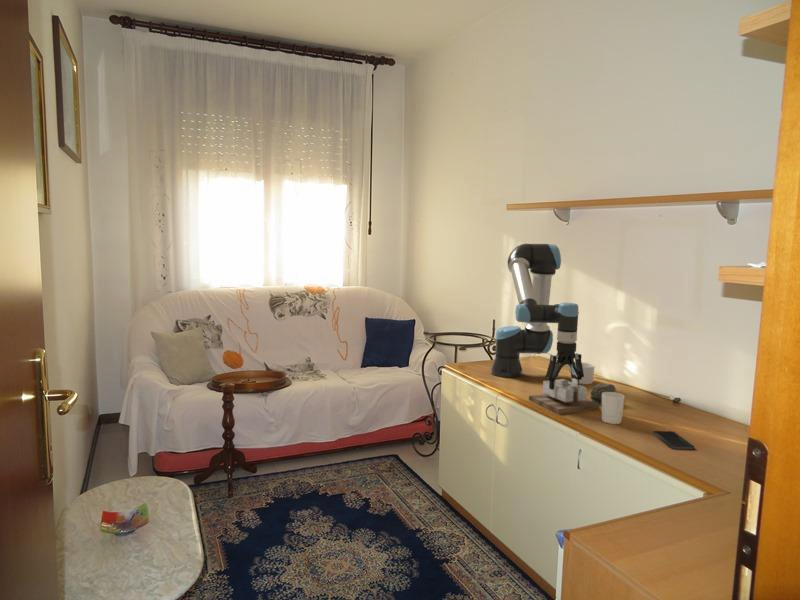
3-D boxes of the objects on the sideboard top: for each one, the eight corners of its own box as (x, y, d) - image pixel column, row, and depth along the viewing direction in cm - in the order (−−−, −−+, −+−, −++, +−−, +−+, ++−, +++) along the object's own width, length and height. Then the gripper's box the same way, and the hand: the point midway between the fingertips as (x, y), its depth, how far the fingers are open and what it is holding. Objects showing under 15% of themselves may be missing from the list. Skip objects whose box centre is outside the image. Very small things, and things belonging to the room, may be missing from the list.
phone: (671, 447, 179) (651, 430, 194) (671, 450, 179) (651, 433, 194) (696, 447, 179) (674, 431, 194) (696, 451, 179) (674, 434, 194)
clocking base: (528, 400, 230) (529, 376, 228) (567, 395, 237) (569, 373, 236) (558, 414, 212) (559, 388, 211) (599, 409, 220) (600, 384, 219)
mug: (597, 382, 261) (599, 365, 260) (585, 385, 254) (586, 368, 253) (573, 376, 271) (574, 360, 270) (560, 379, 265) (561, 362, 264)
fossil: (587, 402, 226) (590, 379, 229) (591, 407, 233) (593, 384, 237) (615, 406, 221) (618, 382, 224) (618, 411, 228) (620, 387, 231)
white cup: (596, 420, 206) (597, 394, 205) (607, 416, 211) (608, 390, 210) (615, 426, 200) (617, 399, 199) (626, 421, 205) (628, 395, 204)
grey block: (542, 392, 229) (543, 380, 228) (562, 390, 232) (563, 379, 232) (565, 402, 216) (565, 389, 215) (585, 399, 220) (586, 387, 219)
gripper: (549, 344, 214) (546, 400, 216) (595, 341, 222) (592, 395, 225) (537, 341, 221) (534, 395, 223) (582, 338, 229) (579, 390, 232)
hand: (563, 395), depth 224 cm, fingers closed on grey block, 10 cm apart
